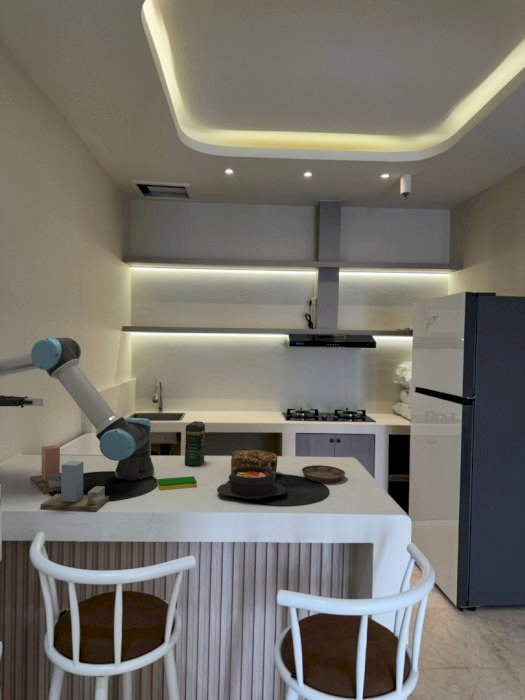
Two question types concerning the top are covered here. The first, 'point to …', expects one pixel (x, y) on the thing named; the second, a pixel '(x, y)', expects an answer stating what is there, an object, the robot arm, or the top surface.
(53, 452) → the terracotta tall block
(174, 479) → the dish sponge
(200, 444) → the coffee jar
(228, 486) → the casserole
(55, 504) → the wooden board with block
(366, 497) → the top surface
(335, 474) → the plant saucer
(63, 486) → the slate blue block
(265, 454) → the bread
